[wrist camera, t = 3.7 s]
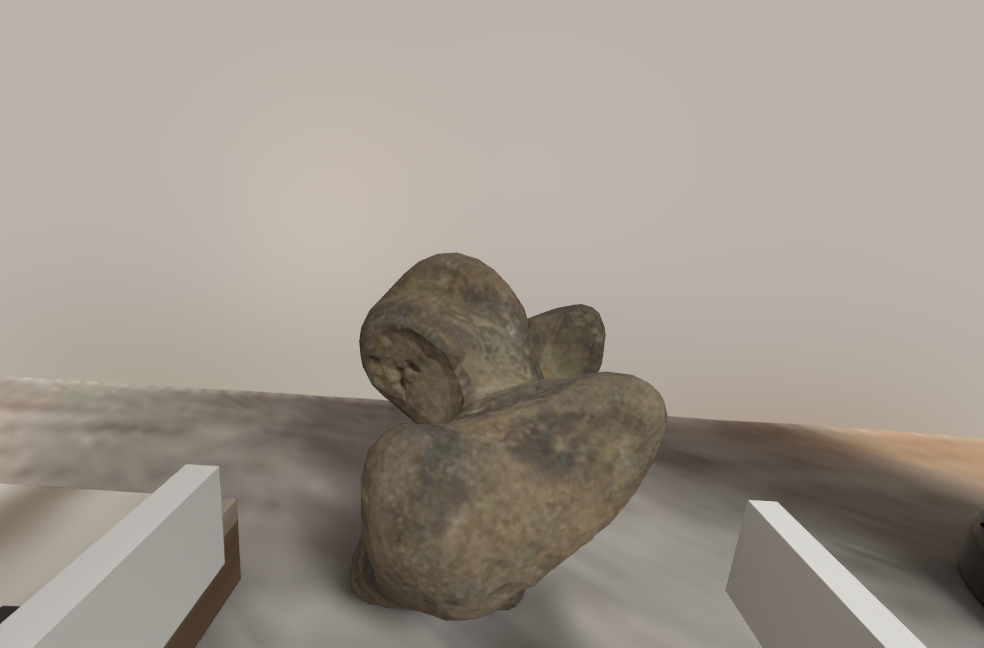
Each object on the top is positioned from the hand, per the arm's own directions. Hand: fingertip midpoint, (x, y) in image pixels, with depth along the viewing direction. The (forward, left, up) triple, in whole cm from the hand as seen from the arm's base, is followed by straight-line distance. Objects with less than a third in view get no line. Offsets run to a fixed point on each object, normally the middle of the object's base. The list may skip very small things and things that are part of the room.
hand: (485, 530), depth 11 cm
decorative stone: (0, -8, -9) cm, 12 cm away
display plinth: (+19, +3, -9) cm, 21 cm away
